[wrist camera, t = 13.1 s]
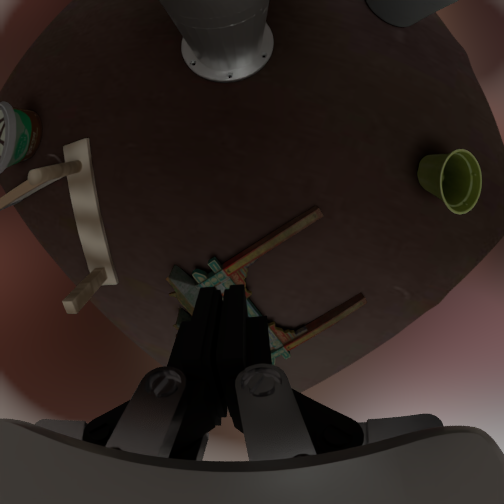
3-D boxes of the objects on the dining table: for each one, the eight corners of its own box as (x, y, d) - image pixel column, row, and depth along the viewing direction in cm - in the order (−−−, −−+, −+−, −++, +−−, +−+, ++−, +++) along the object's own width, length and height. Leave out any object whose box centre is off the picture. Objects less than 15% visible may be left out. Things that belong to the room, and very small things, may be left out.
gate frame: (65, 146, 33) (17, 152, 22) (89, 137, 33) (41, 141, 22) (96, 283, 43) (63, 320, 32) (118, 282, 42) (88, 321, 32)
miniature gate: (377, 322, 43) (235, 400, 46) (365, 306, 48) (234, 380, 52) (308, 185, 34) (132, 301, 38) (298, 181, 39) (142, 285, 43)
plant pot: (422, 210, 39) (453, 226, 31) (399, 162, 36) (431, 169, 28) (455, 182, 37) (487, 193, 29) (435, 135, 34) (469, 138, 26)
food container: (40, 172, 35) (2, 183, 25) (20, 167, 34) (-17, 177, 25) (53, 103, 30) (14, 100, 21) (32, 102, 29) (-6, 101, 20)
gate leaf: (69, 164, 33) (42, 170, 27) (71, 174, 34) (45, 181, 28) (15, 194, 34) (-9, 204, 28) (18, 202, 35) (-6, 213, 29)
